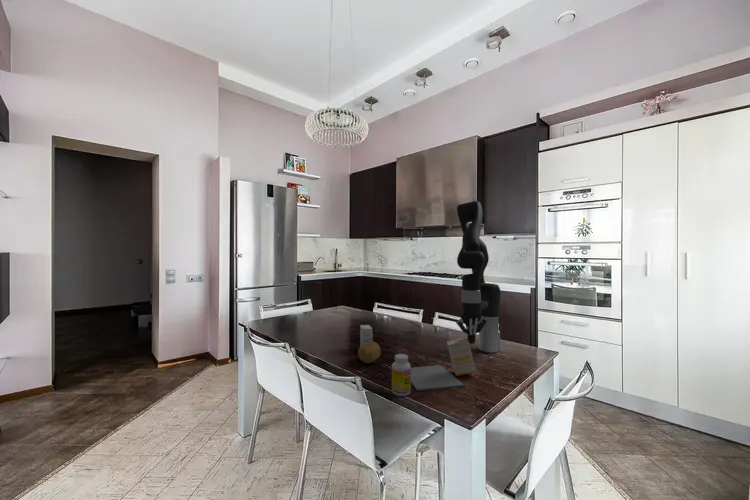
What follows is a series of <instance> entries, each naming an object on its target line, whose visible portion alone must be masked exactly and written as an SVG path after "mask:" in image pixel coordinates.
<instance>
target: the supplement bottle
mask: <svg viewBox="0 0 750 500" xmlns="http://www.w3.org/2000/svg"><path fill="white" fill-rule="evenodd" d="M411 368H412V367H411V364H410V363H409V356H408V354H405V353H398V354H395V355H394V362H393V363H392V364H391V392H392V395H395V396H398V397H405V396H409V395H410V394H411V390H412V389H411V387H412V384H411Z"/></svg>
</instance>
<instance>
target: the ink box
mask: <svg viewBox="0 0 750 500" xmlns="http://www.w3.org/2000/svg"><path fill="white" fill-rule="evenodd" d="M359 331H360V332H359V335H360V336H359V338H360V339H359V342H360V343H359V344H360V346H359V348H360V347H361V346H362V345H363V344H366V343H368V342H370V341H373V340H374V339H373V338H374V337H373V327H372V326H371V325H369V324H361V325H359ZM373 342H374V341H373Z"/></svg>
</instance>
